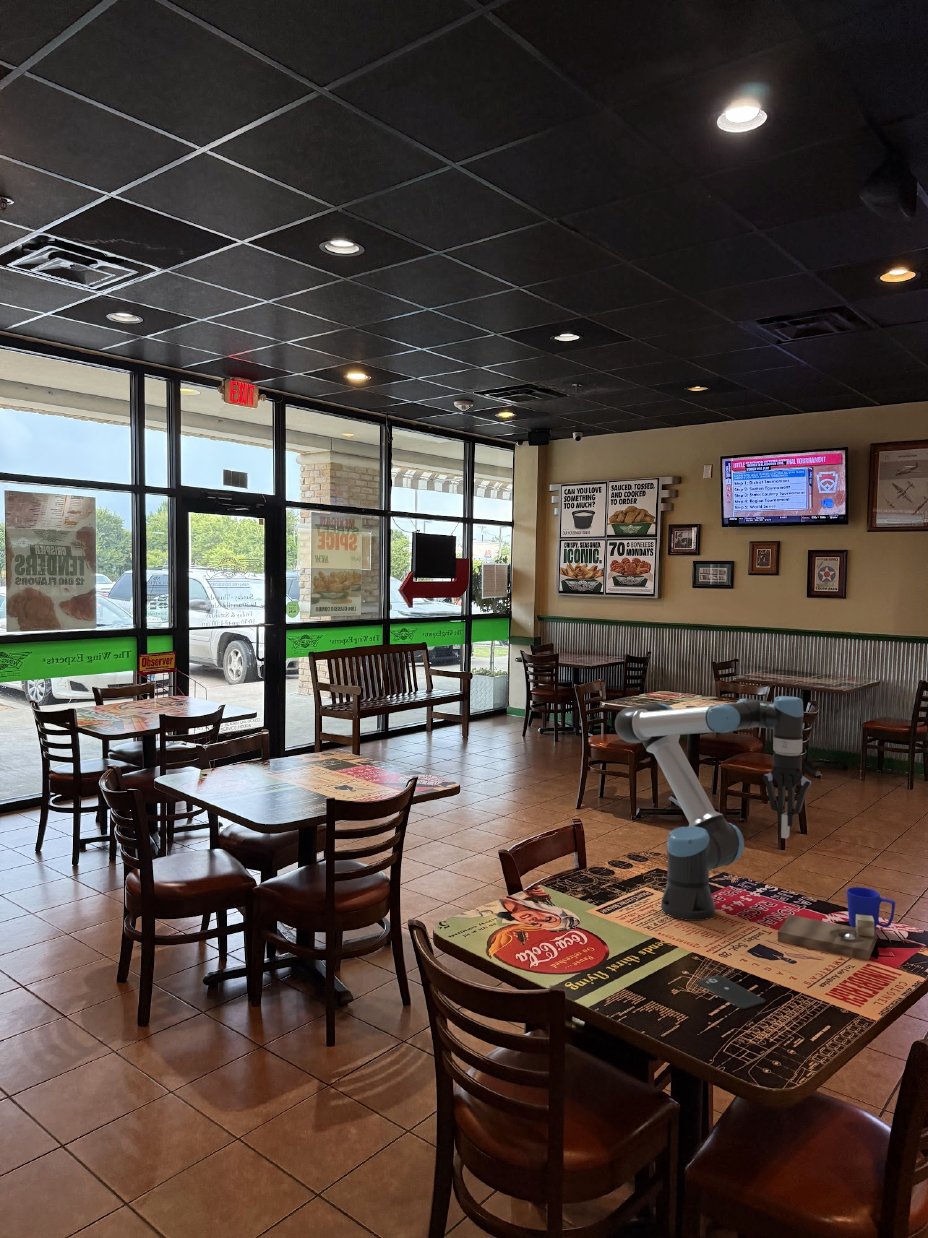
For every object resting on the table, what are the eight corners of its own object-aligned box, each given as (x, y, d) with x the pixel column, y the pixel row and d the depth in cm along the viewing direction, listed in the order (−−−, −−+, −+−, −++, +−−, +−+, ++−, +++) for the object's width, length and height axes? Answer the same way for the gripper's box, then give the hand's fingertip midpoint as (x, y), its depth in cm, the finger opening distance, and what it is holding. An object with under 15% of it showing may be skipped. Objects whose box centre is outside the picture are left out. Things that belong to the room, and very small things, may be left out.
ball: (841, 935, 222) (855, 937, 220) (844, 930, 225) (857, 932, 223) (842, 947, 222) (855, 949, 220) (844, 942, 225) (857, 944, 223)
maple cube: (857, 935, 224) (857, 920, 223) (855, 929, 227) (855, 914, 227) (874, 936, 222) (874, 921, 222) (872, 931, 226) (872, 916, 226)
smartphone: (719, 977, 206) (719, 974, 206) (767, 1004, 193) (767, 1000, 193) (695, 984, 203) (695, 980, 203) (742, 1011, 189) (742, 1008, 189)
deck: (777, 941, 226) (777, 931, 226) (789, 923, 238) (789, 914, 238) (868, 960, 214) (868, 950, 214) (876, 941, 226) (876, 931, 226)
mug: (891, 940, 226) (891, 903, 226) (843, 929, 234) (843, 893, 233) (897, 930, 233) (898, 894, 232) (850, 920, 240) (850, 885, 240)
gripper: (759, 752, 236) (757, 836, 237) (808, 758, 229) (806, 844, 230) (767, 747, 242) (765, 829, 243) (815, 753, 235) (813, 838, 236)
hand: (785, 836), depth 237 cm, fingers closed
